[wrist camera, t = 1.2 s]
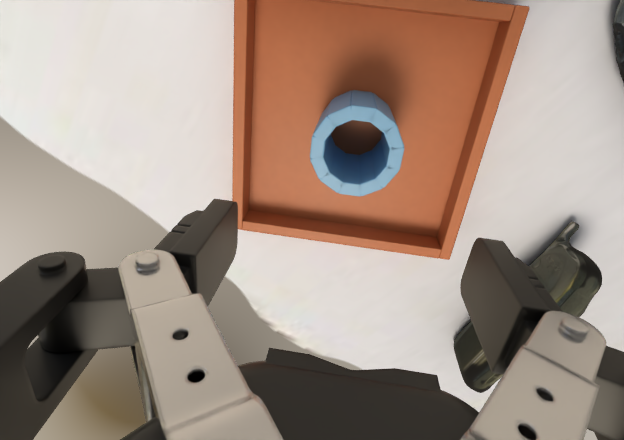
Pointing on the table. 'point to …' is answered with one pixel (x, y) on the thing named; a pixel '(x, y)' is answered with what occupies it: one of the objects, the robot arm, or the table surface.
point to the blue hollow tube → (349, 167)
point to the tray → (358, 134)
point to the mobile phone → (561, 286)
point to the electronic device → (619, 36)
